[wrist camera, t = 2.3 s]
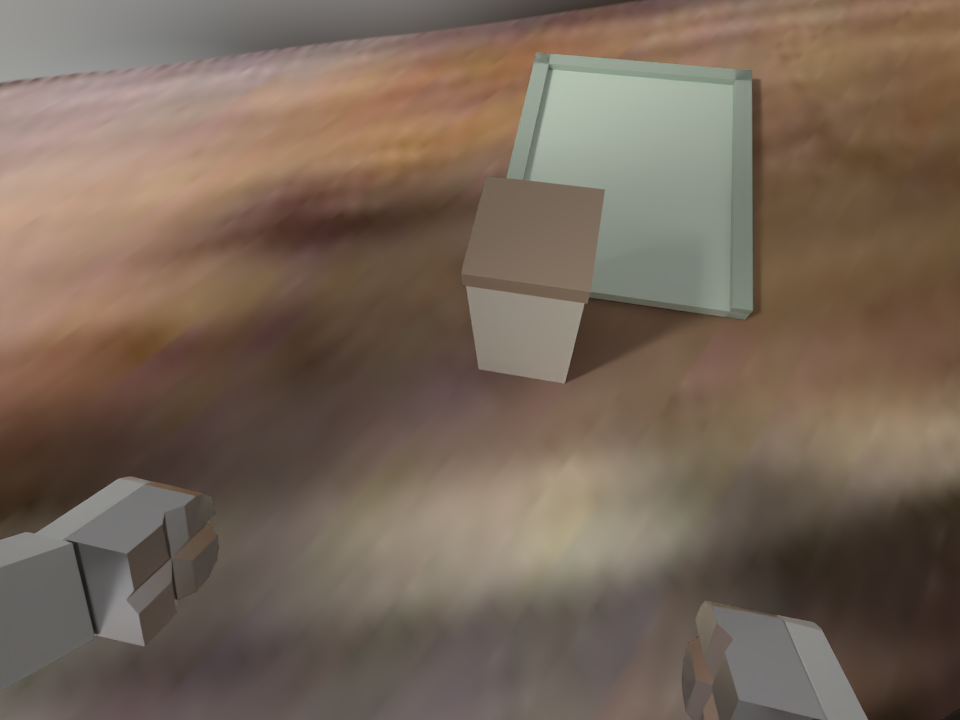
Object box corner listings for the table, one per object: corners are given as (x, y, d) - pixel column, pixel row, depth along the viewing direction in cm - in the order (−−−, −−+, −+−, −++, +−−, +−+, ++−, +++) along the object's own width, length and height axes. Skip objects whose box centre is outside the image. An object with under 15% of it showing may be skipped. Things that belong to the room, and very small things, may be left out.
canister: (476, 370, 27) (460, 273, 19) (493, 294, 29) (486, 175, 21) (566, 385, 26) (590, 292, 18) (578, 306, 28) (605, 189, 20)
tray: (484, 282, 29) (483, 272, 28) (535, 66, 36) (536, 52, 35) (745, 319, 27) (752, 310, 26) (745, 84, 34) (752, 70, 34)
